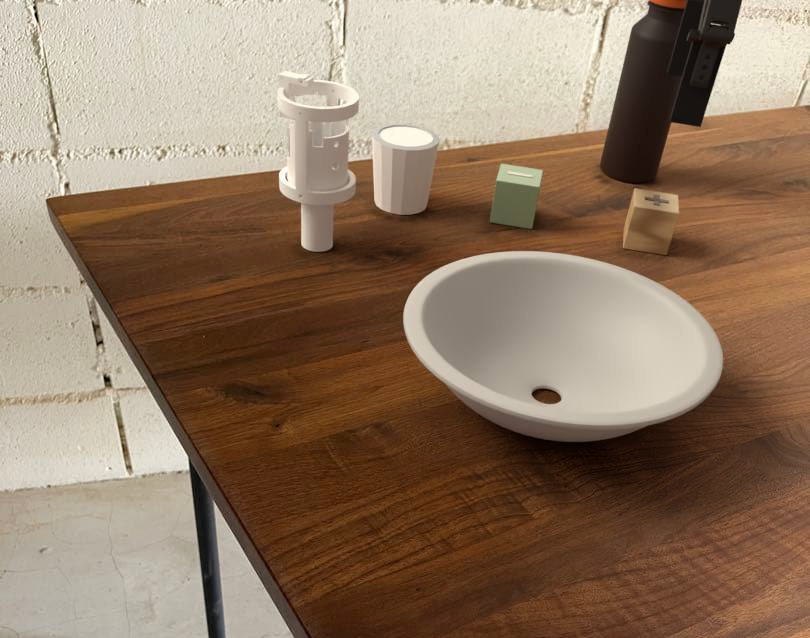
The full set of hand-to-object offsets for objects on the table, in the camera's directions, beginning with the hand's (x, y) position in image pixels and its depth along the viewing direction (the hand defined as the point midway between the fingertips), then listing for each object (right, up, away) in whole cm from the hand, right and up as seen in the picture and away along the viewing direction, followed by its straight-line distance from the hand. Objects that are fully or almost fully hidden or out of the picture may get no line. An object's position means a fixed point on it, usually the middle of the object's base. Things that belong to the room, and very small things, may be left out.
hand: (682, 98), depth 83 cm
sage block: (-15, -7, +11) cm, 20 cm away
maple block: (-1, -10, +9) cm, 14 cm away
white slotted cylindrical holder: (-35, -13, +3) cm, 37 cm away
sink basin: (-15, -30, -12) cm, 36 cm away
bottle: (0, +2, +22) cm, 22 cm away
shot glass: (-27, -6, +11) cm, 29 cm away
